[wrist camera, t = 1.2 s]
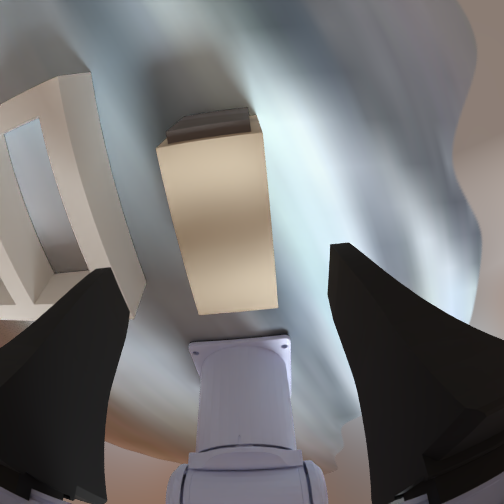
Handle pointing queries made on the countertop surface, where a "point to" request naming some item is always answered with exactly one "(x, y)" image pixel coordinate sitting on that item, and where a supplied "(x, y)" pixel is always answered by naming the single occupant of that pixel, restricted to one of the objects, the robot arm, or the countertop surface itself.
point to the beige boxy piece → (221, 209)
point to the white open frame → (73, 197)
